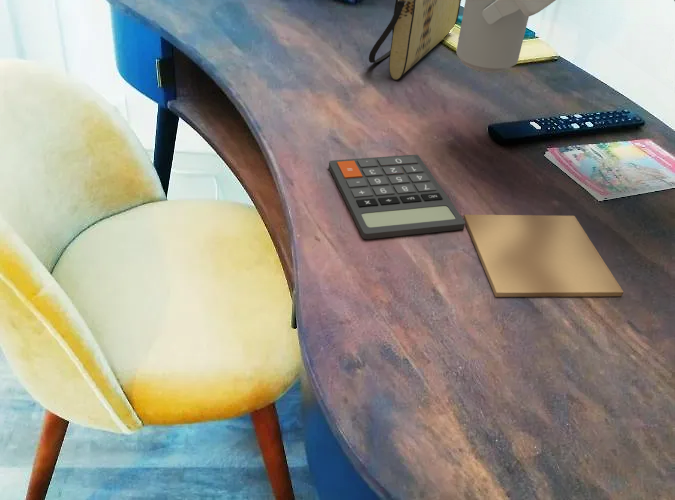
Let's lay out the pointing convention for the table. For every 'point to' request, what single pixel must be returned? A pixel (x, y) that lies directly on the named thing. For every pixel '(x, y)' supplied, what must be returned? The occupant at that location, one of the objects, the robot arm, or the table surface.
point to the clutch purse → (415, 31)
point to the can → (490, 38)
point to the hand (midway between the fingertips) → (491, 6)
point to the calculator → (394, 196)
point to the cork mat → (539, 256)
